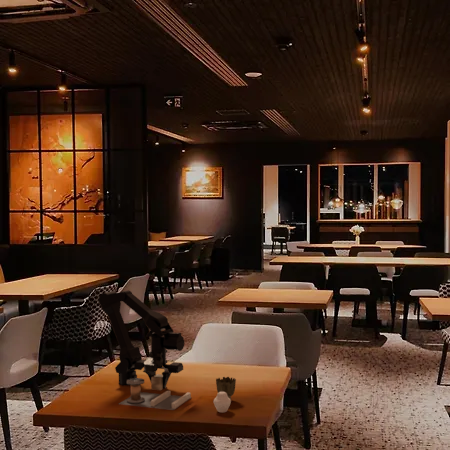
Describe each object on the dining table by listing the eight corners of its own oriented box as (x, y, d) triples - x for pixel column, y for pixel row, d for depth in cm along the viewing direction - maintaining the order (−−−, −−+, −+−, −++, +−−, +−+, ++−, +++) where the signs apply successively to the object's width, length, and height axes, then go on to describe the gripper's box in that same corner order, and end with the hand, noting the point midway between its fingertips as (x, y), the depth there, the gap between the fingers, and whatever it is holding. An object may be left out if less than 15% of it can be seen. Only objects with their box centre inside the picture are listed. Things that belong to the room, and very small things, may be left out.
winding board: (118, 407, 231) (117, 398, 231) (139, 394, 246) (139, 387, 246) (173, 413, 223) (173, 404, 223) (191, 400, 238) (191, 392, 238)
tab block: (151, 392, 249) (151, 377, 249) (157, 389, 254) (157, 374, 254) (160, 393, 248) (160, 378, 248) (166, 390, 253) (166, 374, 252)
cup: (221, 404, 233) (221, 382, 233) (212, 399, 240) (212, 378, 239) (239, 401, 237) (239, 380, 236) (230, 396, 243) (230, 375, 243)
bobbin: (123, 402, 232) (123, 381, 232) (132, 397, 238) (132, 377, 238) (139, 404, 230) (139, 383, 230) (147, 399, 236) (147, 378, 236)
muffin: (233, 412, 224) (233, 392, 223) (216, 414, 222) (216, 394, 222) (228, 407, 230) (227, 388, 229) (211, 409, 228) (211, 389, 228)
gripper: (127, 351, 246) (127, 391, 247) (171, 354, 240) (171, 396, 240) (140, 345, 257) (141, 384, 257) (183, 348, 250) (184, 388, 251)
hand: (158, 388), depth 251 cm, fingers closed on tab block, 4 cm apart
